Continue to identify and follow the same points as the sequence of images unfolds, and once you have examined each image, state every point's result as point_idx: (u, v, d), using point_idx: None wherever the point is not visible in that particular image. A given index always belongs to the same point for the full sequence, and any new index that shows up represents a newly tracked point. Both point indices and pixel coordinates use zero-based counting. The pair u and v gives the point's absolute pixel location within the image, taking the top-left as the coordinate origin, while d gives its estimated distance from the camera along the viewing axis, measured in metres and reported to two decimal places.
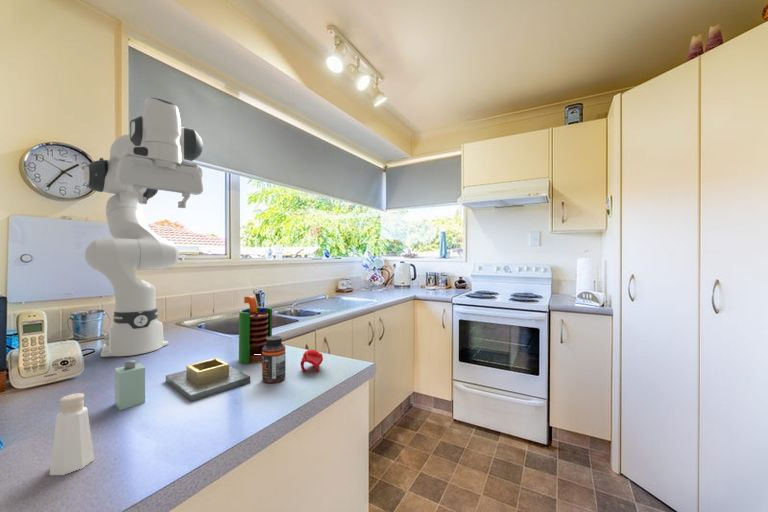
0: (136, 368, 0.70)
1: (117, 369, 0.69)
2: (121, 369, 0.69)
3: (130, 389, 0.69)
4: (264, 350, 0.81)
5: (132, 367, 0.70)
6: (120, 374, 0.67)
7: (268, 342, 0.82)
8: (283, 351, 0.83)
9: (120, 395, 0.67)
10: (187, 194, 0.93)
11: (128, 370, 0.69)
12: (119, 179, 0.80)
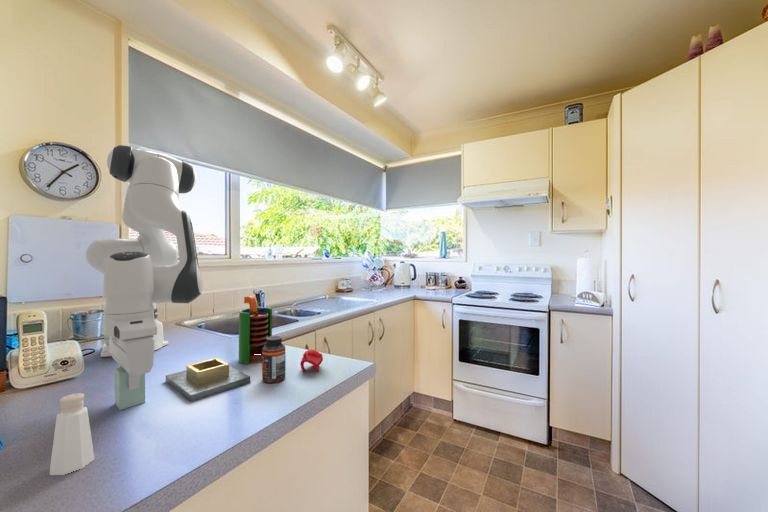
0: None
1: (117, 369, 0.69)
2: (121, 369, 0.69)
3: None
4: (264, 350, 0.81)
5: None
6: (120, 374, 0.67)
7: (268, 342, 0.82)
8: (283, 351, 0.83)
9: (120, 395, 0.67)
10: None
11: None
12: (149, 369, 0.65)
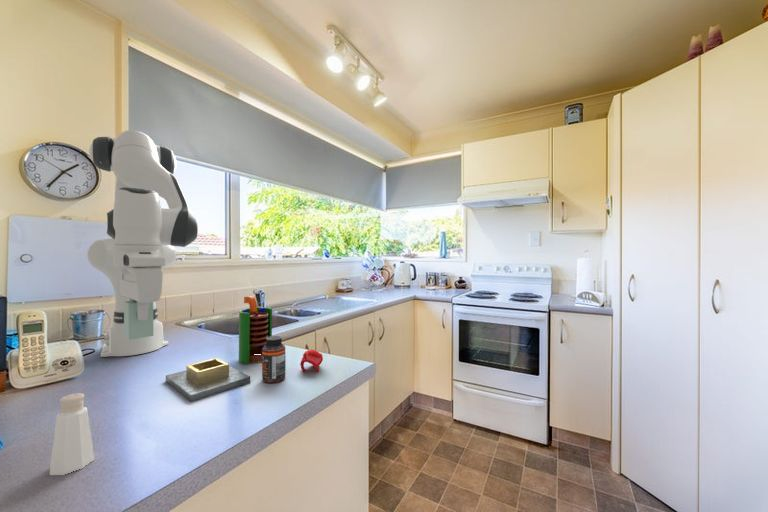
0: None
1: (126, 302, 0.71)
2: (129, 302, 0.70)
3: None
4: (264, 350, 0.81)
5: None
6: (129, 305, 0.68)
7: (268, 342, 0.82)
8: (283, 351, 0.83)
9: (129, 325, 0.68)
10: None
11: None
12: (158, 297, 0.66)
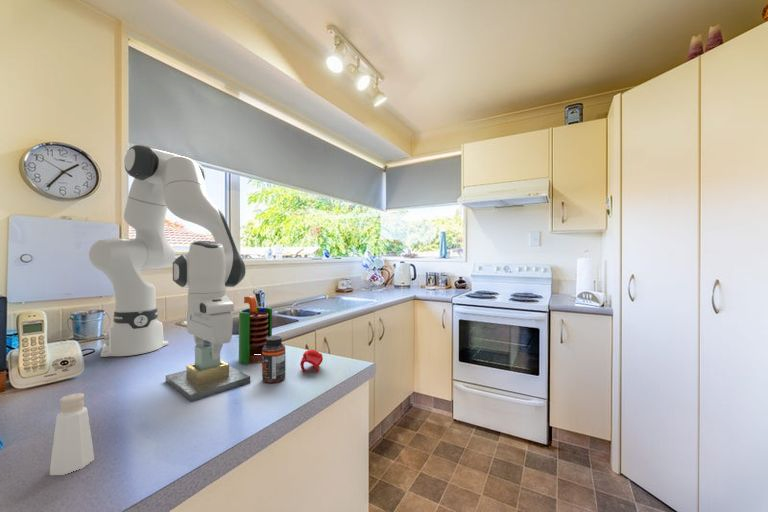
0: None
1: (197, 346, 0.81)
2: (201, 347, 0.81)
3: (209, 363, 0.80)
4: (264, 350, 0.81)
5: (210, 345, 0.82)
6: (202, 350, 0.79)
7: (268, 342, 0.82)
8: (283, 351, 0.83)
9: (202, 368, 0.79)
10: None
11: (207, 347, 0.81)
12: (229, 339, 0.77)
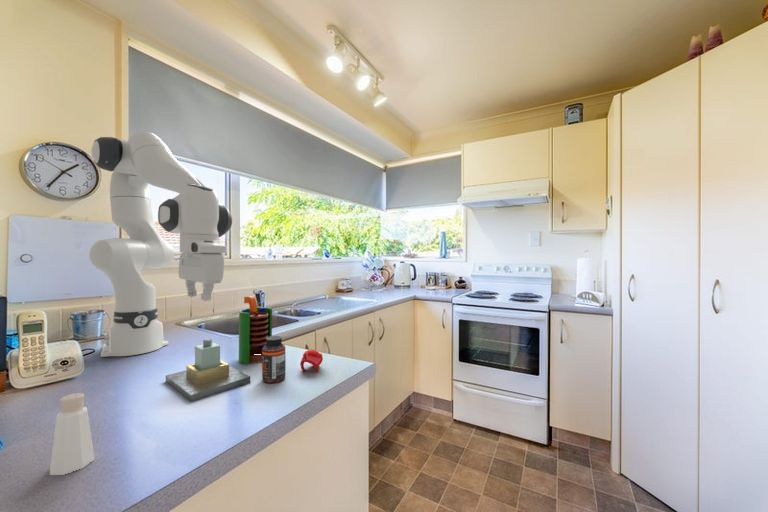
0: (213, 346, 0.82)
1: (197, 346, 0.81)
2: (201, 347, 0.81)
3: (209, 363, 0.80)
4: (264, 350, 0.81)
5: (210, 345, 0.82)
6: (202, 350, 0.79)
7: (268, 342, 0.82)
8: (283, 351, 0.83)
9: (202, 368, 0.79)
10: None
11: (207, 347, 0.81)
12: (220, 280, 0.77)
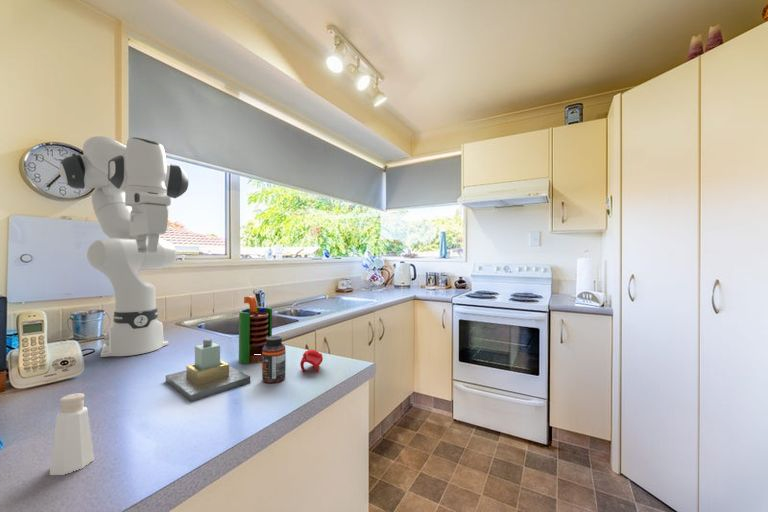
0: (213, 346, 0.82)
1: (197, 346, 0.81)
2: (201, 347, 0.81)
3: (209, 363, 0.80)
4: (264, 350, 0.81)
5: (210, 345, 0.82)
6: (202, 350, 0.79)
7: (268, 342, 0.82)
8: (283, 351, 0.83)
9: (202, 368, 0.79)
10: None
11: (207, 347, 0.81)
12: (164, 230, 0.77)
